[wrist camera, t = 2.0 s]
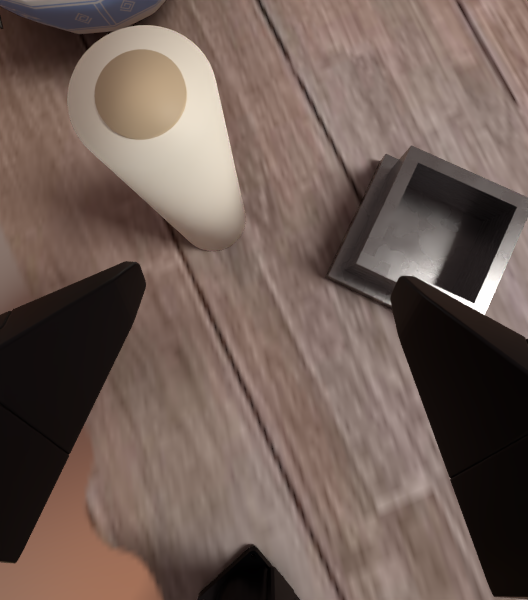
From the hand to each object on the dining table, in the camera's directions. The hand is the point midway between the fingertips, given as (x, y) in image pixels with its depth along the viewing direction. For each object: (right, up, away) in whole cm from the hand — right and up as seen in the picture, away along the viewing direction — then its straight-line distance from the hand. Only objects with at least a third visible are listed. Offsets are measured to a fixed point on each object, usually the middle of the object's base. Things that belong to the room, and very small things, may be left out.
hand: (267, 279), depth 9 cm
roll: (-5, +7, +14) cm, 16 cm away
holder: (+13, +4, +14) cm, 20 cm away
